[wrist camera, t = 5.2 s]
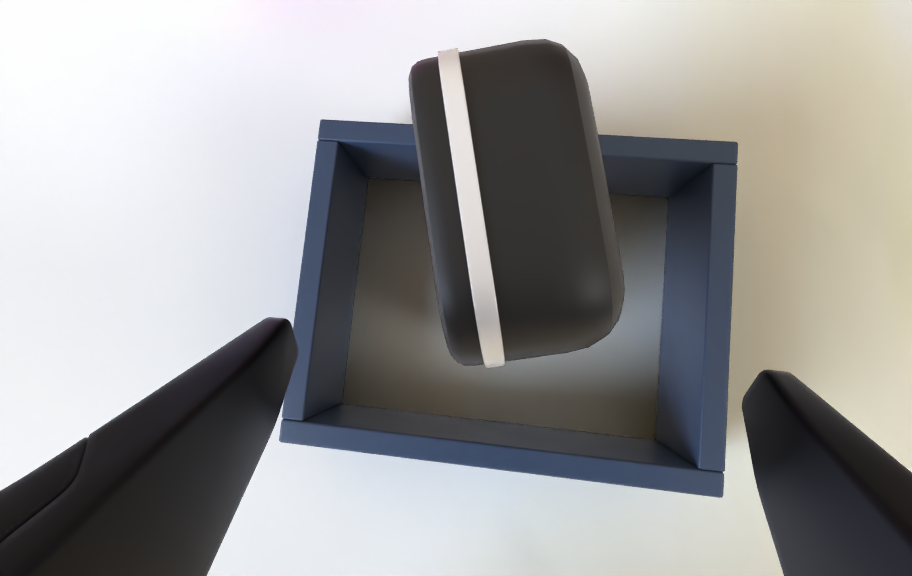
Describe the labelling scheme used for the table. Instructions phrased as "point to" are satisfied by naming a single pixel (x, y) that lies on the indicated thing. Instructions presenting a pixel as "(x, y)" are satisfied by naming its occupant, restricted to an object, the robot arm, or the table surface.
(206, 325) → the table surface
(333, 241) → the box
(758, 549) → the table surface
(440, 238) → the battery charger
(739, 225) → the table surface
